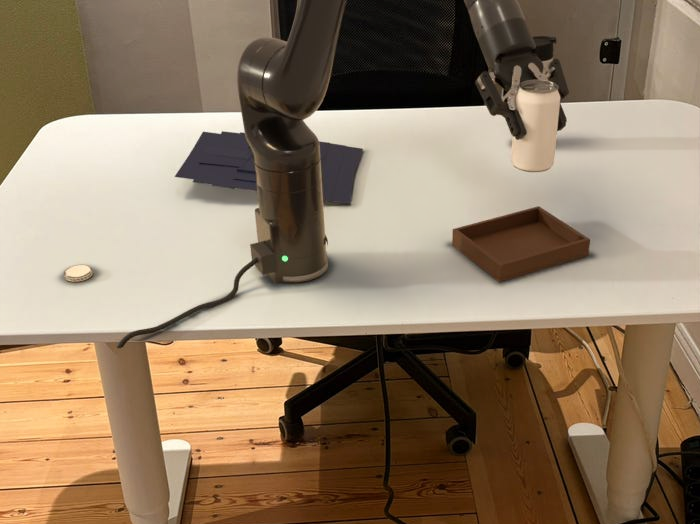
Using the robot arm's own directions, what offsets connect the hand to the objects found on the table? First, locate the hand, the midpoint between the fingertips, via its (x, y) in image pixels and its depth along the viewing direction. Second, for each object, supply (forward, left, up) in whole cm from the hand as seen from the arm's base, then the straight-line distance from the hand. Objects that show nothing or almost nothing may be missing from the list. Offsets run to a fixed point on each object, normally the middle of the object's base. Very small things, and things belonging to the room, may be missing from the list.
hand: (541, 132), depth 136 cm
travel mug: (+22, +32, -18) cm, 43 cm away
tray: (-4, -2, -17) cm, 18 cm away
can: (0, +2, -6) cm, 6 cm away
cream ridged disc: (-65, +24, -17) cm, 71 cm away
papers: (-26, +43, -18) cm, 53 cm away
